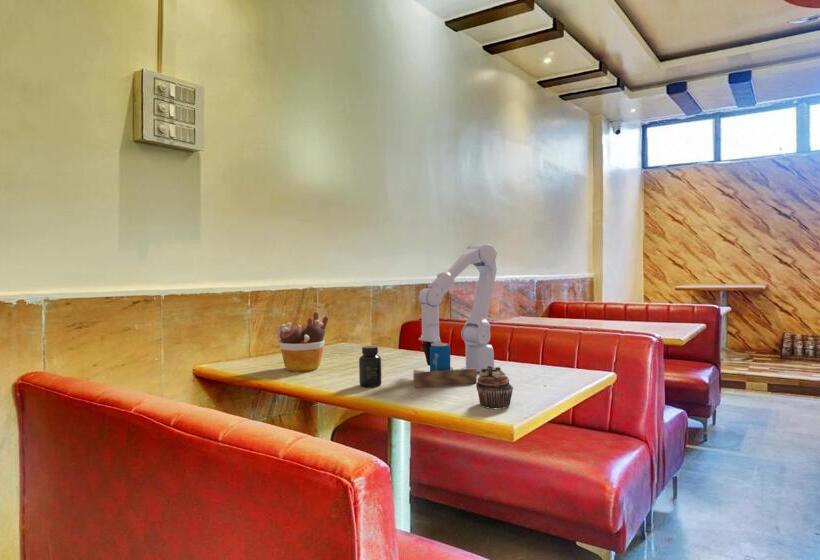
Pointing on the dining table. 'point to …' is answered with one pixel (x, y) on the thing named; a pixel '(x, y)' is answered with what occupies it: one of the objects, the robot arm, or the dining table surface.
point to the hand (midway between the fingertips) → (431, 365)
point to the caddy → (444, 377)
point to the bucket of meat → (302, 344)
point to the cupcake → (494, 388)
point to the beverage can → (439, 357)
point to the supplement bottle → (370, 367)
